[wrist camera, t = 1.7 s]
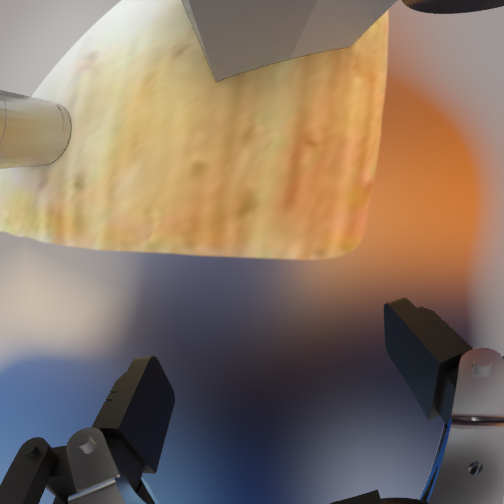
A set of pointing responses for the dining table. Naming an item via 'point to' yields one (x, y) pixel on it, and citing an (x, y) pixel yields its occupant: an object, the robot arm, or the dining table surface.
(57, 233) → the dining table surface
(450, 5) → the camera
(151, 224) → the dining table surface
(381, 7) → the stepped stand
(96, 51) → the dining table surface
